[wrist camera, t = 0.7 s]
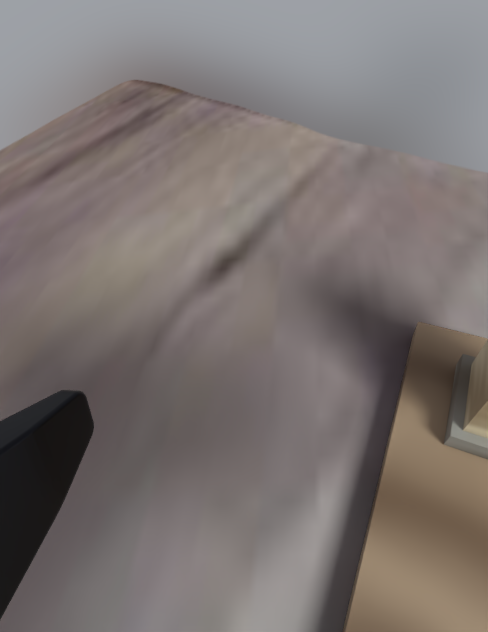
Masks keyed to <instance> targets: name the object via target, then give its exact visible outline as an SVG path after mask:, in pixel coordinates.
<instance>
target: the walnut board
mask: <svg viewBox="0 0 488 632" xmlns="http://www.w3.org/2000/svg"><path fill="white" fill-rule="evenodd" d="M487 340H488V339H487V338H482V337H478V336H474V335H470V334H466V333H462V332H458V331H454V330H450V329H446V328H442V327H438V326H434V325H430V324H426V323H422V322H418V323H417V326H416V329H415V331H414V334H413V338H412V342H411V346H410V350H409V354H408V359H407V363H406V367H405V371H404V375H403V380H402V384H401V388H400V392H399V396H398V401H397V405H396V409H395V413H394V417H393V422H392V426H391V430H390V434H389V438H388V443H387V447H386V451H385V455H384V459H383V464H382V468H381V472H380V476H379V480H378V485H377V489H376V493H375V497H374V501H373V505H372V510H371V514H370V518H369V522H368V526H367V531H366V535H365V539H364V543H363V547H362V552H361V556H360V560H359V564H358V568H357V573H356V577H355V581H354V585H353V589H352V594H351V598H350V602H349V606H348V610H347V615H346V619H345V623H344V627H343V631H342V632H488V459H485V458H482V457H479V456H476V455H473V454H470V453H467V452H464V451H461V450H458V449H455V448H452V447H449V446H447V445H444V439H445V433H446V427H447V420H448V414H449V408H450V401H451V395H452V389H453V382H454V376H455V370H456V364H457V363H458V361H459V359H460V358H461V356H462V354H466V355H469V356H473V357H477V355H478V353H479V352H480V350H481V349H482V347H483V346H484V344H485V343H486V341H487Z"/></svg>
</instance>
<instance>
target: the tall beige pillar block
mask: <svg viewBox="0 0 488 632" xmlns="http://www.w3.org/2000/svg"><path fill="white" fill-rule="evenodd" d="M444 445H447V446H449V447H452V448H455V449H458V450H461V451H464V452H467V453H470V454H473V455H476V456H479V457H482V458H485V459H488V340H487V341H486V343H485V344H484V346H483V347H482V349H481V350H480V352H479V353H478V355H477V357H473V356H469V355H466V354H462V356H461V358H460V359H459V361H458V363H457V364H456V370H455V376H454V382H453V389H452V395H451V401H450V408H449V414H448V420H447V427H446V433H445V439H444Z"/></svg>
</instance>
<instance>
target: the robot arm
mask: <svg viewBox="0 0 488 632" xmlns="http://www.w3.org/2000/svg"><path fill="white" fill-rule="evenodd" d="M93 429H94V423H93V419H92V415H91V412H90V409H89V405H88V402H87V398H86V396H85V394H84V393H83V392H81V391H74V390H62V391H59V392H57V393H55V394H53V395H51V396H49V397H47V398H45V399H43V400H41V401H39V402H37V403H35V404H34V405H32V406H30V407H28V408H26V409H24V410H22V411H20V412H18V413H16V414H14V415H12V416H10V417H8V418H6V419H4V420H2V421H0V619H1V617H2V616H3V614H4V612H5V610H6V608H7V606H8V604H9V603H10V601H11V599H12V597H13V595H14V593H15V592H16V590H17V588H18V586H19V584H20V582H21V580H22V579H23V577H24V575H25V573H26V571H27V569H28V568H29V566H30V564H31V562H32V560H33V558H34V557H35V555H36V553H37V551H38V549H39V547H40V545H41V544H42V542H43V540H44V538H45V536H46V534H47V533H48V531H49V529H50V527H51V525H52V523H53V522H54V520H55V518H56V516H57V514H58V512H59V510H60V508H61V506H62V504H63V502H64V500H65V497H66V495H67V493H68V491H69V488H70V486H71V484H72V481H73V479H74V477H75V474H76V472H77V469H78V467H79V465H80V462H81V460H82V458H83V455H84V453H85V451H86V448H87V446H88V444H89V441H90V439H91V437H92V434H93Z"/></svg>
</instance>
